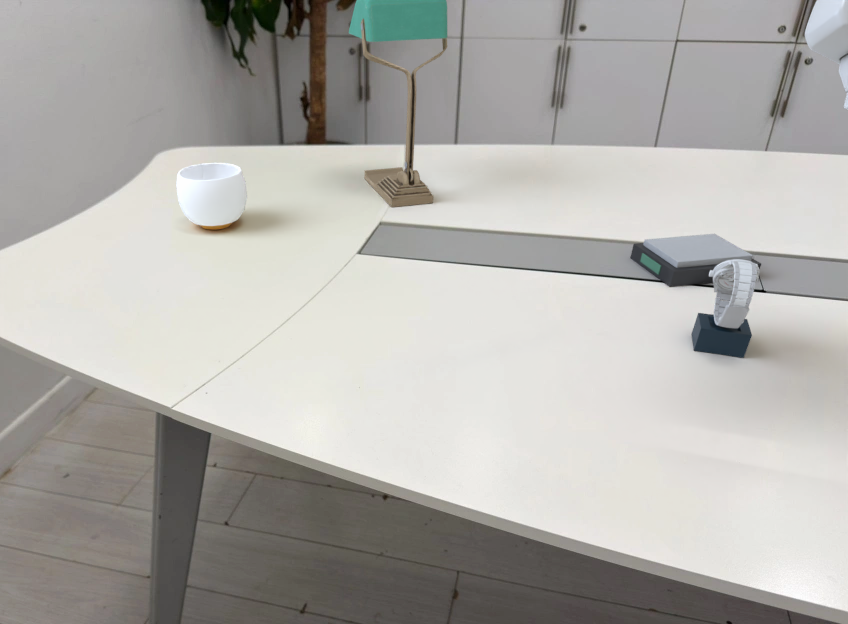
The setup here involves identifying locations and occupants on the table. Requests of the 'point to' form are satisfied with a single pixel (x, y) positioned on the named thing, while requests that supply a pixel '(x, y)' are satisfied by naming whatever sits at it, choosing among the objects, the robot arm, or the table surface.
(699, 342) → the watch
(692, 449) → the table surface
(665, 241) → the scale
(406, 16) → the banker's lamp
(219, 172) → the cup
